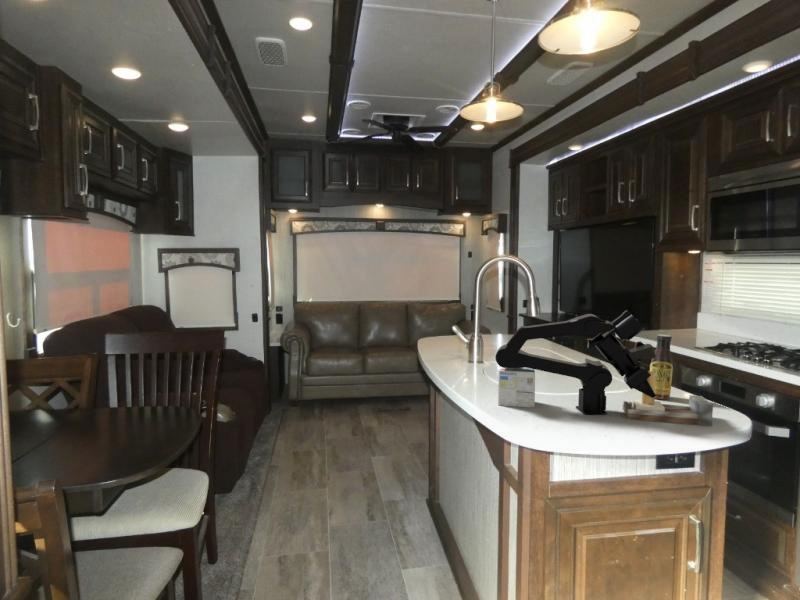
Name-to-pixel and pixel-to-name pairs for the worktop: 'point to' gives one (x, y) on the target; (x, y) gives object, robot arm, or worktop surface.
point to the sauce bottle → (662, 367)
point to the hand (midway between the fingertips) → (653, 395)
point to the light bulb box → (516, 387)
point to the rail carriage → (648, 398)
